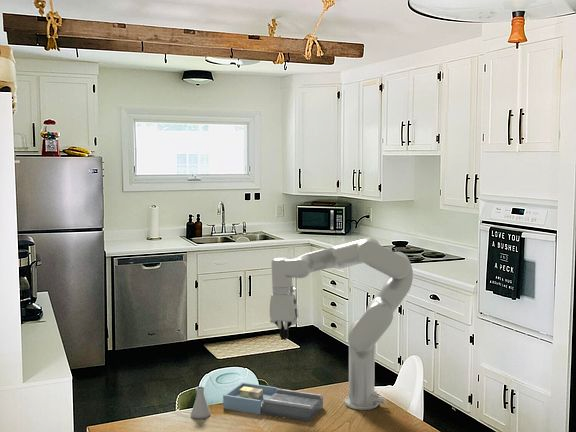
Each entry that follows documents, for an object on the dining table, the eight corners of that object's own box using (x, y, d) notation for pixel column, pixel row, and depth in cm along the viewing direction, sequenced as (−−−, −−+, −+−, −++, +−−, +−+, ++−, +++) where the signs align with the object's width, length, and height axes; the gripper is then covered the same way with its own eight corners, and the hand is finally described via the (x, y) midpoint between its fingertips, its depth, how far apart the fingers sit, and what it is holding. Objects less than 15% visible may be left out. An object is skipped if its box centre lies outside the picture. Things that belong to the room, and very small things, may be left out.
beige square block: (263, 397, 228) (262, 389, 228) (258, 400, 225) (258, 392, 224) (253, 395, 230) (253, 387, 230) (248, 399, 226) (248, 391, 226)
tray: (277, 400, 232) (277, 387, 231) (260, 414, 218) (260, 401, 218) (242, 394, 238) (242, 382, 237) (223, 408, 224) (223, 395, 224)
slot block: (322, 407, 224) (322, 393, 224) (309, 422, 211) (309, 407, 211) (278, 400, 231) (278, 387, 231) (262, 414, 218) (262, 400, 218)
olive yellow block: (253, 395, 230) (253, 387, 230) (248, 399, 226) (248, 391, 226) (244, 394, 232) (244, 386, 231) (239, 397, 228) (239, 389, 228)
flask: (206, 419, 214) (206, 392, 213) (187, 418, 215) (186, 390, 214) (213, 412, 221) (213, 385, 220) (194, 410, 222) (194, 383, 221)
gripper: (304, 289, 230) (306, 337, 231) (268, 288, 235) (270, 335, 237) (297, 293, 223) (299, 342, 224) (260, 291, 228) (262, 340, 230)
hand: (284, 338), depth 230 cm, fingers closed
